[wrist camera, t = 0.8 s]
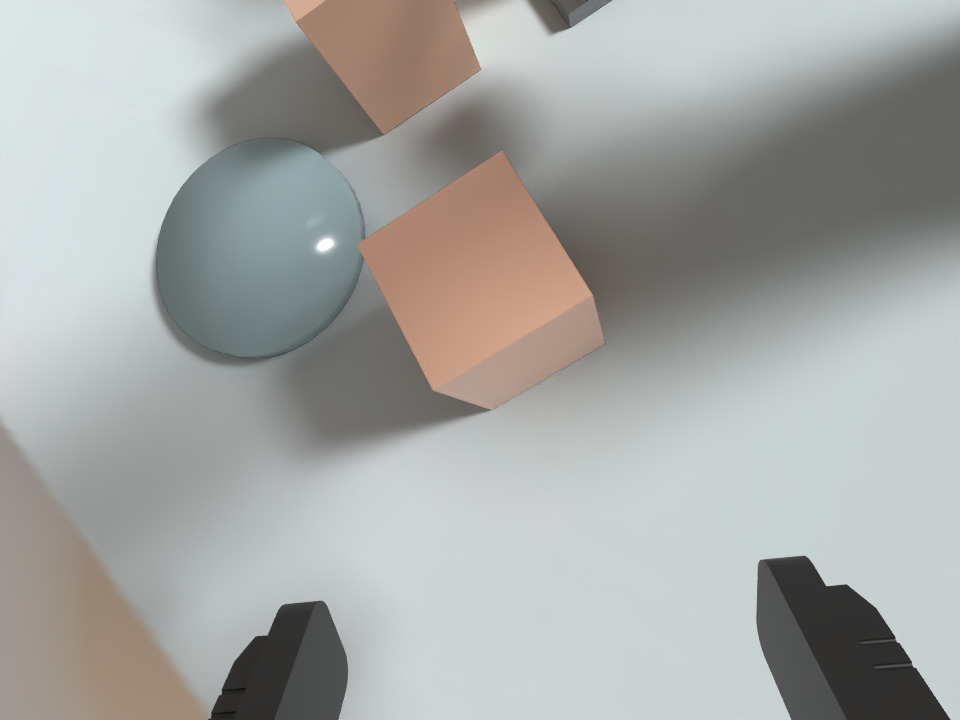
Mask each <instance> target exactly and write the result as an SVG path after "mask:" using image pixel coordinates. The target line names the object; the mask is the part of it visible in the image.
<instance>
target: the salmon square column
mask: <svg viewBox="0 0 960 720" xmlns="http://www.w3.org/2000/svg"><path fill="white" fill-rule="evenodd" d="M284 2H285V4H286V5H287V7H288V9H289V11H290V13H291V14H292V16H293V18H294V20H295V22H296V23H297V24H298V26H299V27H300V28H301V29H302V31H303V32H304V33H305V35H306V36H307V37H308V38H309V40H310V41H311V42H312V44H313V45H314V46H315V47H316V49H317V50H318V51H319V53H320V54H321V55H322V56H323V58H324V59H325V60H326V62H327V63H328V64H329V65H330V67H331V68H332V69H333V71H334V72H335V73H336V74H337V76H338V77H339V78H340V80H341V81H342V82H343V83H344V85H345V86H346V87H347V89H348V90H349V91H350V92H351V94H352V95H353V96H354V98H355V99H356V100H357V101H358V103H359V104H360V105H361V107H362V108H363V109H364V110H365V112H366V113H367V114H368V116H369V117H370V118H371V119H372V121H373V122H374V123H375V125H376V126H377V127H378V128H379V130H380V131H381V132H382V134H383V135H384V134H386V133H387V132H389V131H390V130H392V129H393V128H395V127H396V126H398V125H399V124H401V123H402V122H404V121H405V120H407V119H408V118H410V117H411V116H413V115H414V114H416V113H417V112H419V111H420V110H421V109H423V108H424V107H426V106H427V105H429V104H430V103H432V102H433V101H435V100H436V99H438V98H439V97H441V96H442V95H444V94H445V93H447V92H448V91H450V90H451V89H453V88H454V87H456V86H457V85H459V84H460V83H462V82H463V81H465V80H466V79H468V78H469V77H471V76H472V75H474V74H475V73H477V72H478V71H480V70H481V68H480V65H479V63H478V60H477V58H476V55H475V53H474V50H473V47H472V45H471V42H470V40H469V37H468V35H467V32H466V30H465V27H464V25H463V22H462V20H461V17H460V15H459V12H458V9H457V7H456V4H455V2H454V0H284Z"/></svg>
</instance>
